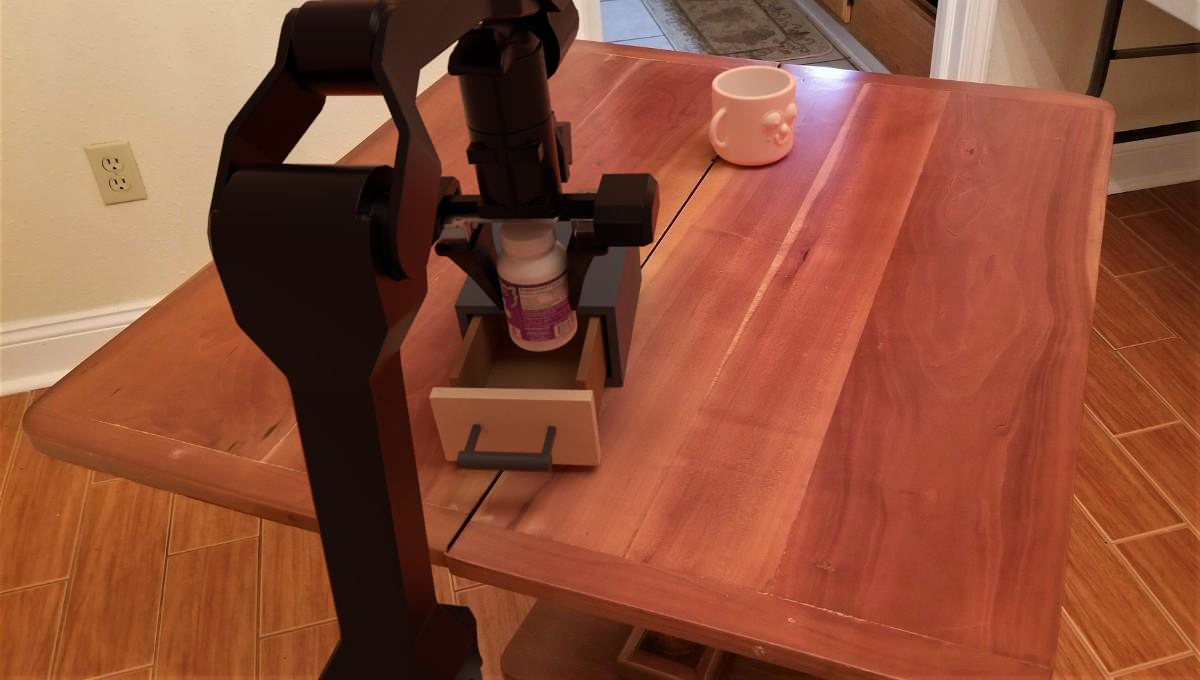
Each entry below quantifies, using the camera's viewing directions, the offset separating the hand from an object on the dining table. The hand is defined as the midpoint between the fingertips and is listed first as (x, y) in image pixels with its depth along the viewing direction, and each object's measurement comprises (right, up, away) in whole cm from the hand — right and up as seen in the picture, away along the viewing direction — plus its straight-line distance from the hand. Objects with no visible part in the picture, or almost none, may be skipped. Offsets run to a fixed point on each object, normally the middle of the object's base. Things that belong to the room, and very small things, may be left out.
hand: (540, 307), depth 71 cm
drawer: (-1, -9, +8) cm, 12 cm away
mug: (+23, +20, +43) cm, 53 cm away
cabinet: (+1, -1, +19) cm, 19 cm away
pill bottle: (0, -2, +2) cm, 3 cm away
